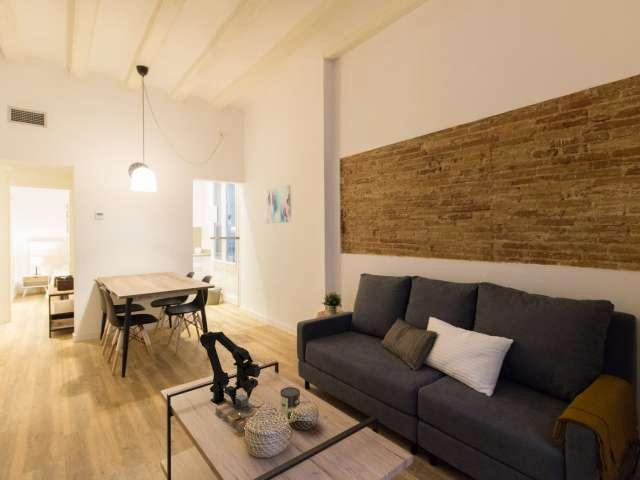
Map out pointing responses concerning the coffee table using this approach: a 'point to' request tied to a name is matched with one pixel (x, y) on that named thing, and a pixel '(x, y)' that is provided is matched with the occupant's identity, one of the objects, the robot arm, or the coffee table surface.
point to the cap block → (241, 401)
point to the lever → (235, 416)
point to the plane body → (223, 413)
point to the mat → (242, 409)
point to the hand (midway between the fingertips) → (241, 401)
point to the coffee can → (289, 400)
